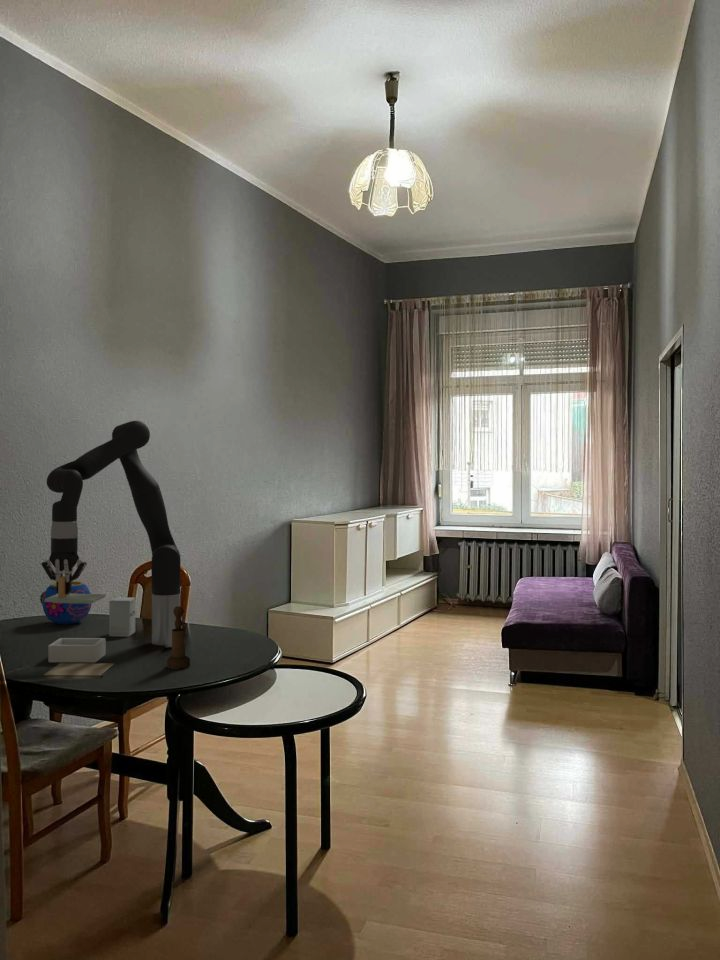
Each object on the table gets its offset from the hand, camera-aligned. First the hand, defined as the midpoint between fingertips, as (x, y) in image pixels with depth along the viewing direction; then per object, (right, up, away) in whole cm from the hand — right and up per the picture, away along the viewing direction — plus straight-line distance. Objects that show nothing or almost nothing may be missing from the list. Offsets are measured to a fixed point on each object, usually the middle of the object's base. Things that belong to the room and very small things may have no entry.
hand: (63, 594), depth 243 cm
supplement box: (+5, -21, +43) cm, 48 cm away
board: (+7, -22, -8) cm, 24 cm away
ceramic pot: (-21, -20, +62) cm, 69 cm away
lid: (+4, -2, 0) cm, 4 cm away
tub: (+2, -21, +5) cm, 22 cm away
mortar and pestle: (+34, -22, 0) cm, 41 cm away
